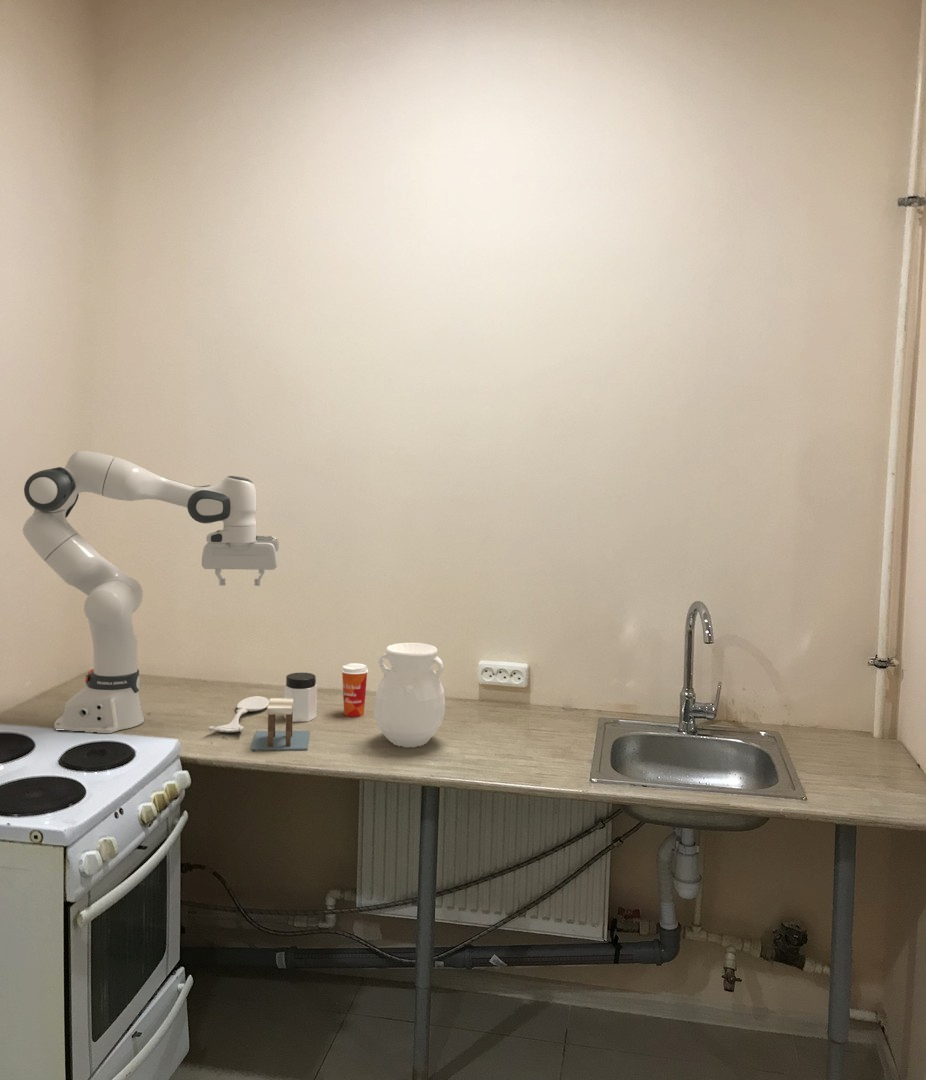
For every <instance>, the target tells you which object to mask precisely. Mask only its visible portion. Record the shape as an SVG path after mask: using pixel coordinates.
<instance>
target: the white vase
mask: <svg viewBox="0 0 926 1080" xmlns="http://www.w3.org/2000/svg"><path fill="white" fill-rule="evenodd" d="M385 650H386V652H385V653H384V654H382V655H381V656H380V657H379V658H378V666H379V668H380V670H381V672H382V674H383V677H382V678H381V681H380V682H379V683H378V687H377V690H376V692H375V695H374V700H373V701H374V702H373V717H374V721H375V723H376V726H377V727H378V728H379V730H380V731H381V733H382V734H383V736H384V737H386V739H387V740H388V741H389V742H390V743H391V744H392V743H393V744H392V745H393V746H396V745H397V746H396V747H400V746H403V747H402V748H410V747H411V748H418V747H417V746H419V747H423V746H425V745H426V744H427V743H429V740H431V738H432V737H433V736H434V735H435V733H437V730H438V729H439V728H440V726H441V725H442V722H443V719H444V716H445V711H446V710H445V709H446V698H445V689H444V687H443V684H442V682H441V679H440V676H441V674H442V673H443V671H444V668H445V666H444V663H443V660H442V659H441V658H440V657H439V656H438V653H439V651H438V648H437V647H436V646H434V645H432V644H427V643H424V642H400V643H398V642H397V643H393V644H390V645H388V646H387V647H386V648H385ZM385 659H387V660H388V662H389V664H390V668H389V667H387V665H385ZM435 664H436V666H438V667H437V668H438V670H437V671H435V669H434V668H433V667H434V665H435ZM424 744H425V745H424ZM422 745H423V746H422Z"/></svg>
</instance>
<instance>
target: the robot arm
mask: <svg viewBox="0 0 926 1080" xmlns="http://www.w3.org/2000/svg"><path fill="white" fill-rule="evenodd" d="M256 490H257V489H256V486H255V483H254V482H253V481H252V480H251V479H249V478H246V477H241V476H237V475H236V476H235V475H229V476H226V477H225V478H223V479H222V480H220V481H219V482H216V483H214V484H210V485H209V484H208V485H202V486H201V485H199V486H197V485H196V486H195V485H191V484H187V483H182V482H180V481H176V480H173V479H170V478H166V477H162V476H161V475H158V474H156V473H154V472H151V471H150V470H148V469H146V468H144V467H142V466H140V465H138V464H135V463H134V462H132V461H130V460H127V459H124V458H121V457H118V456H114V455H111V454H107V453H103V452H96V451H92V450H91V451H90V450H85V449H84V450H77V451H75V452H73V453H72V454H71V455H70V457H69V458H68V460H67V462H66V465H65V466H64V467H61V466H58V467H53V468H48V469H42V470H38V471H36V472H35V473H32V475H30V476H29V477H28V478H27V479H26V481H25V483H24V488H23V492H24V493H23V494H24V498H25V500H26V502H27V503H28V504H29V506H31V507H32V508H34V510H33V513H32V514H31V515H30V516H29V517H28V519H26V521H25V523H24V525H23V528H22V534H23V535H24V537H25V539H26V540H27V542H28V543H29V544H30V546H31V547H32V549H33V550H34V551H35V553H36V554H37V555H38V556H39V557H40V558H41V559H42V560H43V561H44V562H45V563H46V564H47V565H48V567H50V569H52V570H53V571H54V572H55V573H56V574H57V575H58V576H59V577H60V578H61V579H62V581H64V582H65V583H66V584H68V585H69V586H72V587H74V588H75V589H77V590H79V591H81V592H82V593H84V595H86V596H87V597H86V598H85V602H84V605H83V610H84V614H85V617H86V618H87V620H88V625H89V631H90V634H91V639H92V650H93V651H92V653H93V655H92V656H93V657H92V658H93V669H92V668H91V669H90V670H89V671H88V672H87V674H86V675H85V678H84V680H85V681H84V682H85V685H86V686H84V687H83V688H82V689H80V690H78V692H77V693H75V694H74V695H73V696H71V697H70V698H69V699H68V700H67V701H66V703H65V705H64V709H63V713H62V715H61V716H59V717H58V718H57V719H56V720H55V721H54V723H53V729H54V728H55V729H64V730H75V731H85V732H84V733H93V732H97V734H111V733H115V732H118V731H120V730H127V729H130V728H135V727H137V726H140V725H141V724H143V723H144V722H145V717H144V715H143V712H142V708H141V700H140V694H139V691H140V687H141V685H140V684H141V677H140V670H139V669H138V641H137V638H136V636H135V631H134V627H133V618H132V617H133V614H134V613H136V611H137V610H138V609H139V607H140V606H141V604H142V601H143V597H144V590H143V588H142V586H141V584H140V583H139V582H138V581H137V580H136V579H134V578H133V577H131V576H129V575H127V574H126V573H125V572H124V571H122V570H121V569H120V568H118V567H117V566H116V565H114V564H113V563H111V562H110V561H109V560H107V559H106V558H105V557H103V556H102V555H101V554H100V553H99V552H98V551H97V550H96V549H95V548H94V547H93V546H92V545H91V544H90V543H89V542H88V541H87V540H86V539H85V538H84V537H83V536H82V535H81V534H80V533H79V532H78V531H77V530H76V529H75V528H74V527H73V526H72V525H71V524H70V523H69V522H68V519H67V517H69V515H70V513H71V511H72V510H73V508H74V507H75V505H76V503H77V502H78V499H79V496H80V494H81V493H91V494H95V495H97V496H101V497H105V498H107V499H113V500H119V501H124V502H125V501H127V502H134V501H142V500H143V501H144V500H155V501H162V502H165V503H167V504H173V505H176V506H180V507H183V508H186V509H187V512H188V514H189V516H190V517H191V519H193V520H194V521H196V522H198V523H200V524H213V523H216V522H223V528H222V529H219V530H216V531H213V532H210V533H208V534H207V535H206V537H205V538H206V542H207V543H206V544H205V545H204V546H203V550H202V556H201V567H202V568H203V569H205V570H214V574H215V575H216V577H217V579H218V580H219V581H218V583H219V584H218V585H219V586H225V585H226V578H223V577H222V575H221V572H222V570H250V571H251V570H252V571H253V570H257V571H258V574H259V575H258V578H254V581H253V582H254V587H260V586H261V580H262V577H263V576H264V574H265V571H270V570H272V571H273V570H275V569H276V568H277V567H278V555H277V552H278V550H279V539H277V538H276V537H274V536H272V535H267V536H265V535H257V521H256V513H257V506H258V505H257V504H258V503H257V491H256ZM55 729H54V730H55Z"/></svg>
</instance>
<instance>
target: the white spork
mask: <svg viewBox="0 0 926 1080" xmlns="http://www.w3.org/2000/svg"><path fill="white" fill-rule="evenodd" d="M269 701H270V699H269V698H267V697H265V696H259V695H256V696H248V697H245V698H243V699H241V700H240V701H239V702H238V703H237V704H236V708H237V709H236V714H235V716H234V717H233V719H232V720H231V721H229V723H227V724H223V725H222V724H221V725H217V726H215V725H211V726H209V727H208V731H215V732H220V733H238V732H243V730H244V726H243V725H240V723H239V721H240V718H241V716H242V715H243V714H246V713H248V712H250V713H251V712H252V713H253V712H259V711H262V710H264V709H267V708H268V704H269Z"/></svg>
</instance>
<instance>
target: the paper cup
mask: <svg viewBox="0 0 926 1080" xmlns="http://www.w3.org/2000/svg"><path fill="white" fill-rule="evenodd" d="M340 672H341V673H342V674H341V675H342V695H343V696H342V697H343V700H342V701H343V714H344V716H346V717H349V718H350V717H351V718H358V717H362V716H364V714H365V706H366V705H365V704H366V695H367V694H366V692H367V691H366V690H367V680H368V679H367V677H368V673H369V669H368V667H367V665H366V664H364V663H347V664H344V665H342V669H341V670H340Z"/></svg>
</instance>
